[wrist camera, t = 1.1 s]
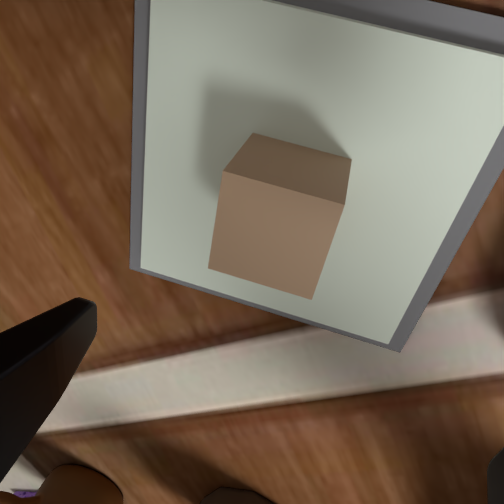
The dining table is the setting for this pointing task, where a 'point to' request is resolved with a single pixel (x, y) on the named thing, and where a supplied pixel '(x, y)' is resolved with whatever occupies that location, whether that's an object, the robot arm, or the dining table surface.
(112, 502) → the mug
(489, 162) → the mat
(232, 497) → the beer bottle
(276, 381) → the dining table surface
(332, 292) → the cover sheet
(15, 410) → the robot arm
